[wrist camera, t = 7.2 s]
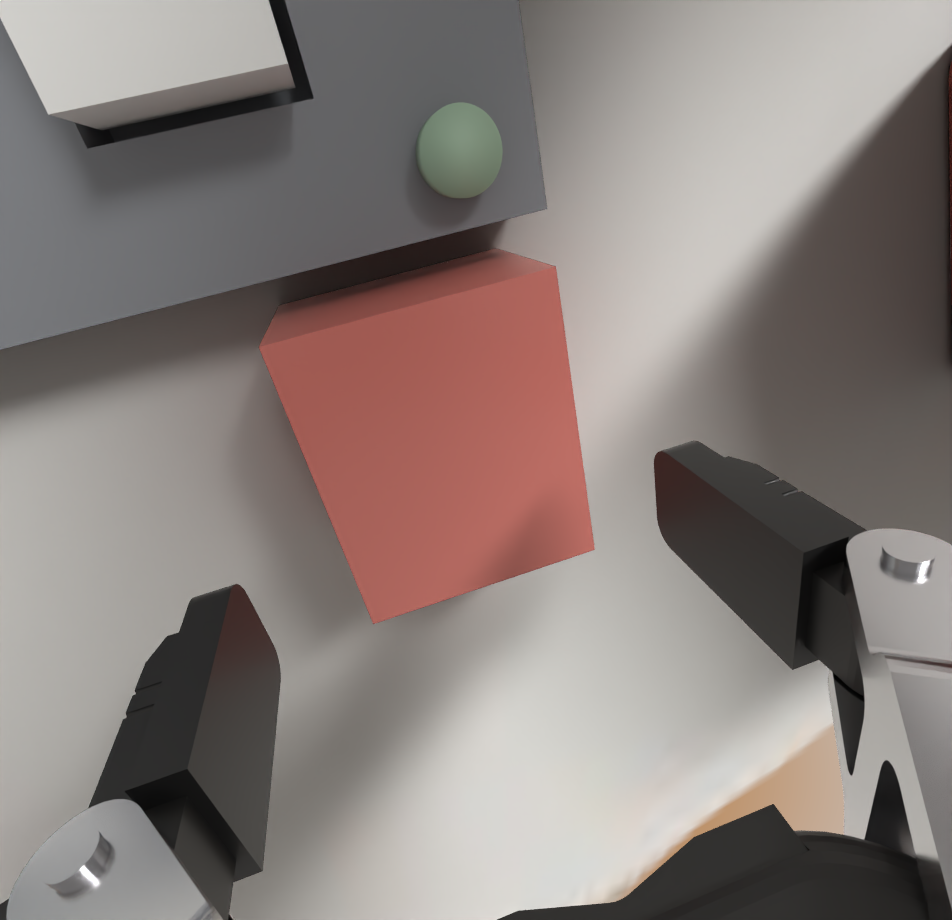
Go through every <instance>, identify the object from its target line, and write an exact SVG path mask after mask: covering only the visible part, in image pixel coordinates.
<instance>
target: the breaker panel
mask: <svg viewBox="0 0 952 920" xmlns="http://www.w3.org/2000/svg"><path fill="white" fill-rule="evenodd" d="M269 3H270V6H271V10H272V13H273V16H274V19H275V23H276V26H277V29H278V32H279V35H280V39H281V42H282V45H283V48H284V52H285V55H286V58H287V61H288V65H289V68H290V71H291V74H292V78H293V81H294V84H295V87H296V88H293V89H288V90H284V91H279V92H275V93H270V94H266V95H261V96H257V97H252V98H247V99H243V100H238V101H234V102H229V103H225V104H220V105H215V106H211V107H206V108H202V109H197V110H193V111H188V112H183V113H179V114H174V115H170V116H165V117H161V118H156V119H152V120H147V121H142V122H138V123H133V124H129V125H124V126H120V127H115V128H110V129H106V130H99V129H96V128H92V127H89V126H85V125H82V124H79V123H75V122H72V121H69V120H65V119H62V118H58V117H55V116H52V115H48V113H47V111H46V109H45V107H44V105H43V103H42V101H41V99H40V97H39V95H38V93H37V91H36V89H35V87H34V85H33V83H32V81H31V79H30V77H29V75H28V73H27V71H26V69H25V67H24V65H23V63H22V61H21V59H20V57H19V55H18V53H17V51H16V49H15V47H14V45H13V43H12V41H11V39H10V37H9V35H8V33H7V31H6V29H5V27H4V25H3V23H2V21H1V19H0V350H1V349H5V348H9V347H13V346H17V345H21V344H25V343H28V342H32V341H36V340H40V339H44V338H48V337H52V336H56V335H60V334H63V333H67V332H71V331H75V330H79V329H83V328H87V327H91V326H94V325H98V324H102V323H106V322H110V321H114V320H118V319H122V318H126V317H129V316H133V315H137V314H141V313H145V312H149V311H153V310H157V309H160V308H164V307H168V306H172V305H176V304H180V303H184V302H188V301H192V300H195V299H199V298H203V297H207V296H211V295H215V294H219V293H223V292H226V291H230V290H234V289H238V288H242V287H246V286H250V285H254V284H258V283H261V282H265V281H269V280H273V279H277V278H281V277H285V276H289V275H292V274H296V273H300V272H304V271H308V270H312V269H316V268H320V267H323V266H327V265H331V264H335V263H339V262H343V261H347V260H351V259H355V258H358V257H362V256H366V255H370V254H374V253H378V252H382V251H386V250H389V249H393V248H397V247H401V246H405V245H409V244H413V243H417V242H421V241H424V240H428V239H432V238H436V237H440V236H444V235H448V234H452V233H455V232H459V231H463V230H467V229H471V228H475V227H479V226H483V225H487V224H490V223H494V222H498V221H502V220H506V219H510V218H514V217H518V216H521V215H525V214H529V213H533V212H537V211H541V210H545V209H547V203H546V195H545V188H544V181H543V174H542V166H541V159H540V152H539V145H538V137H537V130H536V123H535V116H534V108H533V101H532V94H531V87H530V79H529V72H528V65H527V57H526V50H525V43H524V36H523V28H522V21H521V14H520V7H519V0H269Z"/></svg>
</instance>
